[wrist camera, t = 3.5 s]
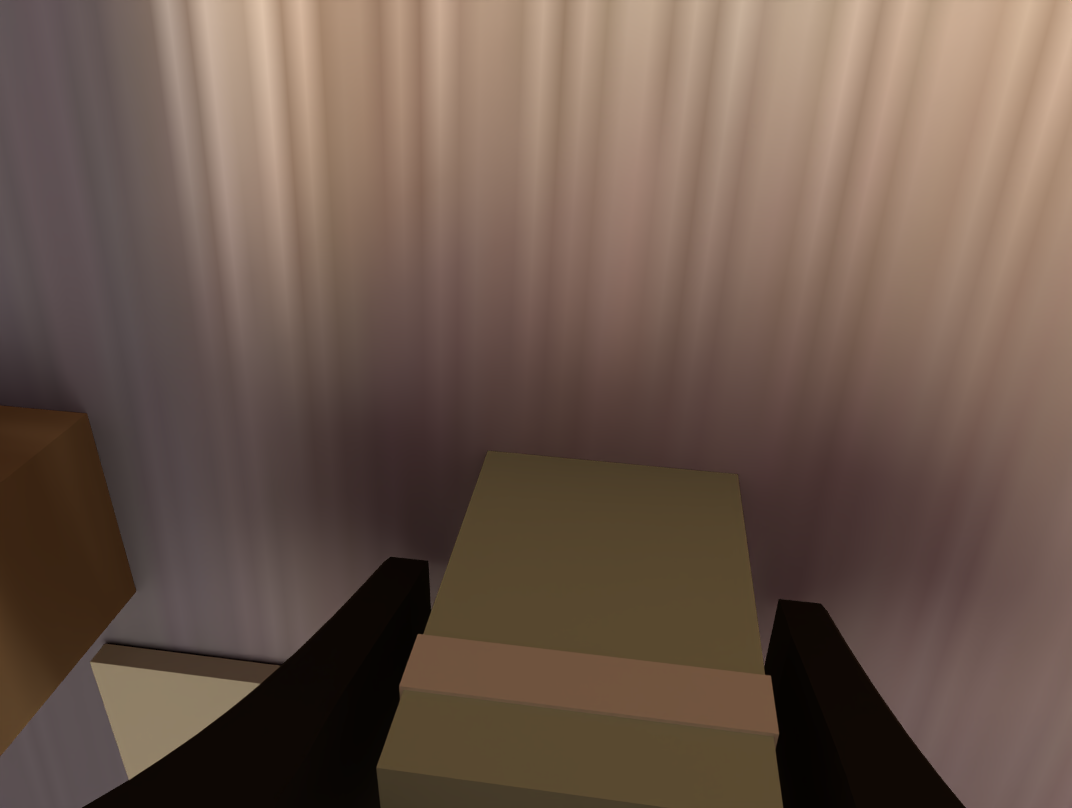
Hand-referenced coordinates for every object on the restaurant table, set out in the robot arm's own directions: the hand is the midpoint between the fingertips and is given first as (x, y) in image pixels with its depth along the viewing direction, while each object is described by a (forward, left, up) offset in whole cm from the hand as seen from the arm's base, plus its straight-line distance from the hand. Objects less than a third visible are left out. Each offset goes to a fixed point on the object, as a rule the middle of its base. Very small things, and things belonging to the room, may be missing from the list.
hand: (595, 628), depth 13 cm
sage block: (0, 0, -2) cm, 2 cm away
